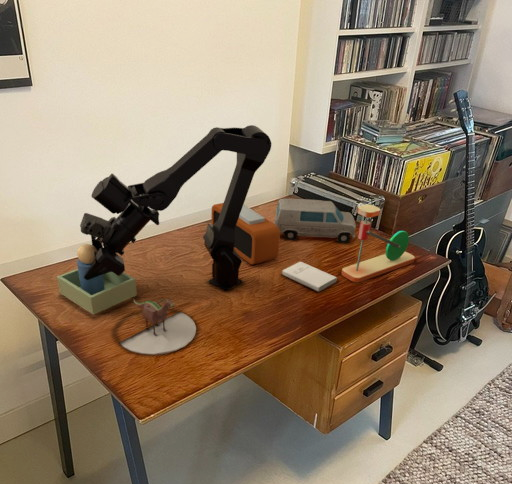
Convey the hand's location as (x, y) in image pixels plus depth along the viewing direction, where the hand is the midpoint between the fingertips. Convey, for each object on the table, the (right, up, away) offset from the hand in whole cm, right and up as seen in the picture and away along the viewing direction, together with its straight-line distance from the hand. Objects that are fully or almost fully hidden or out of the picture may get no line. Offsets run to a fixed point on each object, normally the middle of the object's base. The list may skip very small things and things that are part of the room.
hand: (84, 272), depth 124 cm
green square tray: (+2, -5, +5) cm, 8 cm away
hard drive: (+55, +1, +18) cm, 58 cm away
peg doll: (+1, -5, +4) cm, 6 cm away
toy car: (+58, +17, +42) cm, 74 cm away
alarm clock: (+37, +12, +32) cm, 50 cm away
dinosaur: (+18, -14, -5) cm, 23 cm away
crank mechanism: (+75, +5, +26) cm, 80 cm away
